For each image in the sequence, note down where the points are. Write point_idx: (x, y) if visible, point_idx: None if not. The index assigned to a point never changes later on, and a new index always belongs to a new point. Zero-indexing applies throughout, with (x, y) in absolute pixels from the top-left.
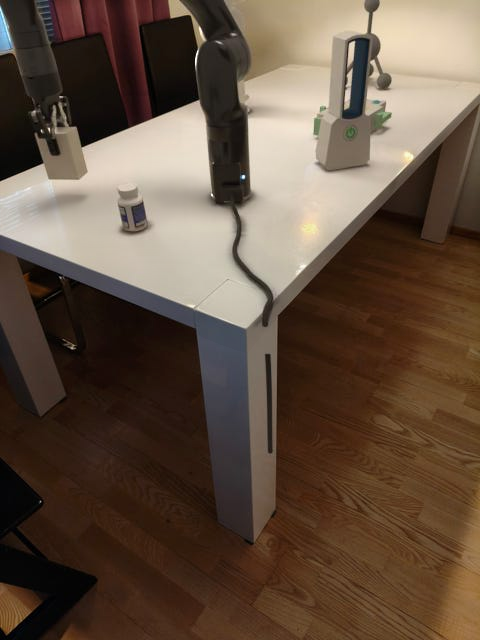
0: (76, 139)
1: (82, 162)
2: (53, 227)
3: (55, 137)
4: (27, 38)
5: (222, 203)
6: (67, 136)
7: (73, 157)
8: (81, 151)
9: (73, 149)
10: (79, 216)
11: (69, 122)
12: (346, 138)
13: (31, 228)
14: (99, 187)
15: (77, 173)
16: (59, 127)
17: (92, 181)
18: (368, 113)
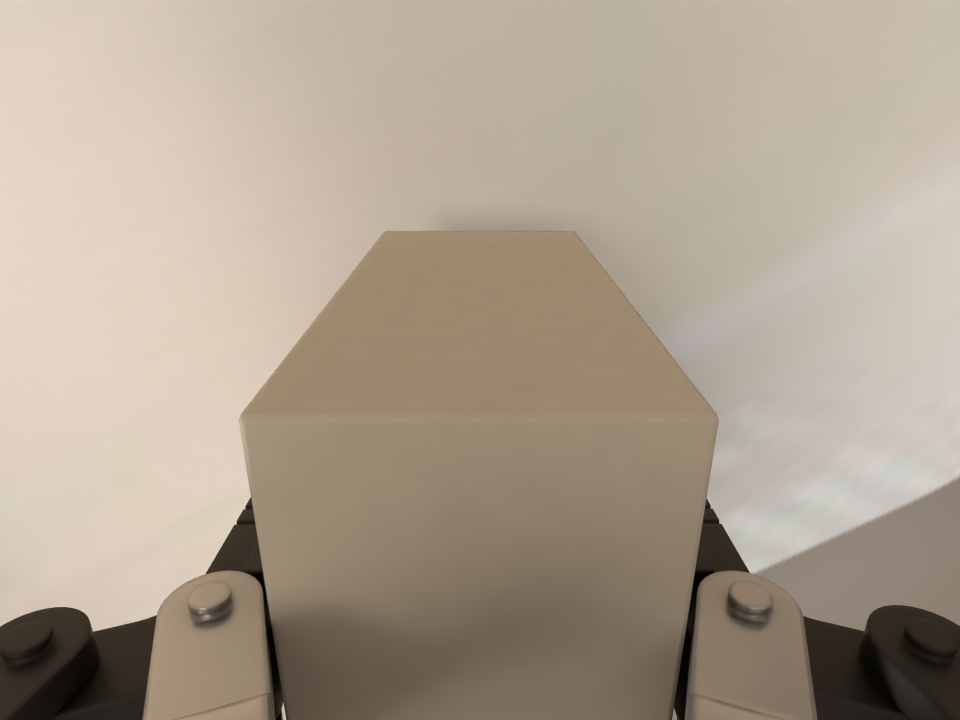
0: (400, 337)
1: (427, 254)
2: (929, 244)
3: (702, 580)
4: None
5: None
6: (697, 389)
7: (606, 281)
8: (374, 281)
9: (565, 306)
10: (783, 137)
11: (62, 645)
12: None
13: (920, 372)
14: (292, 204)
15: (580, 242)
16: (314, 702)
17: (200, 305)
18: None
